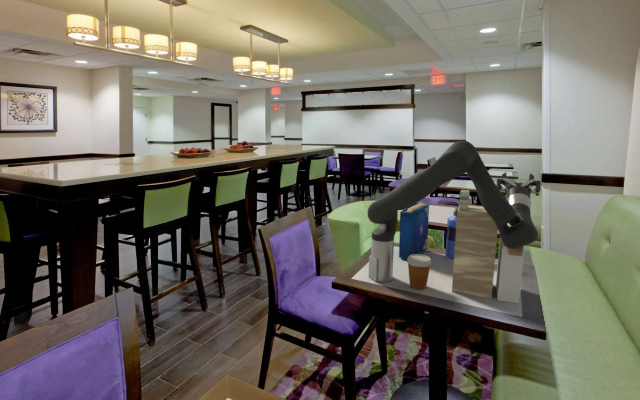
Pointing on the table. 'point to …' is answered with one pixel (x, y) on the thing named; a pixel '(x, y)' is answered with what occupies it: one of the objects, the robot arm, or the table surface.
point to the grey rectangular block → (508, 275)
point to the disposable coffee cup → (418, 270)
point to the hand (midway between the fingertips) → (517, 174)
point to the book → (413, 230)
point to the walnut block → (515, 251)
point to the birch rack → (474, 249)
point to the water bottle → (451, 235)
